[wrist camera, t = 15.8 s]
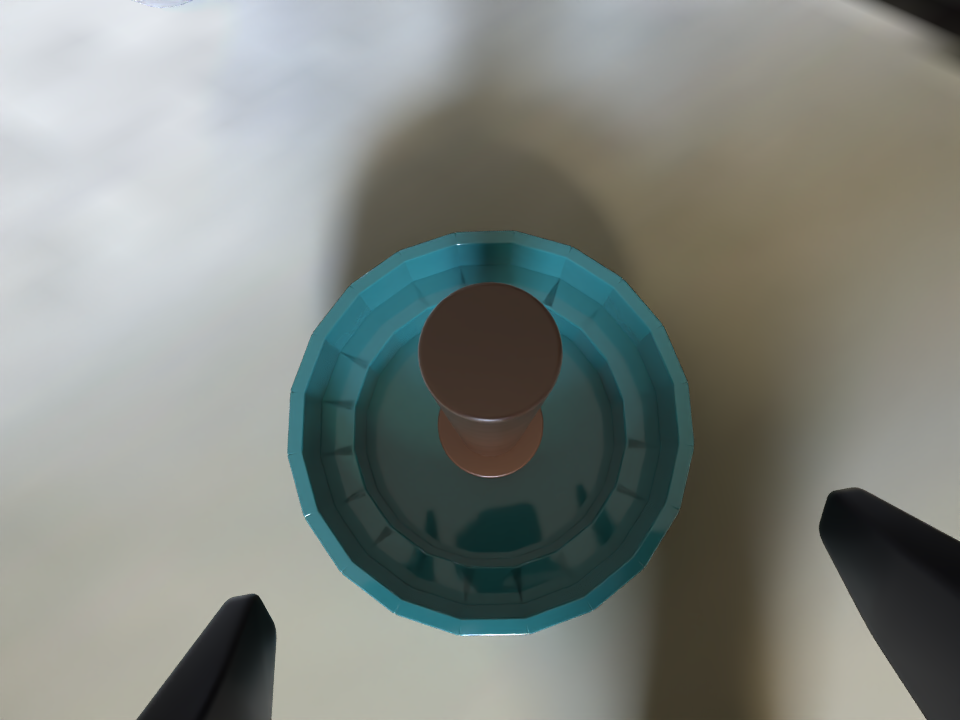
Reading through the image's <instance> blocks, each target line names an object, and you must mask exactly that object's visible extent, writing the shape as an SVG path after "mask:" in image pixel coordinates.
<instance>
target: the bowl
mask: <svg viewBox="0 0 960 720" xmlns="http://www.w3.org/2000/svg"><path fill="white" fill-rule="evenodd" d="M484 282H496V283H504V284H508V285H512V286H515V287H518V288H520V289H522V290H524V291H526V292H528V293H530V294H531V295H532V296H534V297H535V298H537V299H538V300H539V301H540V302H541V303H542V304H543V305H544V306H545V307H546V308H547V310H548V311H549V312H550V314H551V315H552V317H553V318H554V320H555V322H556V324H557V326H558V329H559V332H560V335H561V340H562V348H563V357H562V366H561V370H560V374H559V376H558V379H557V382H556V383H555V385H554V387H553V389H552V391H551V392H550V394H549V395H548V397H547V398H546V400H545V401H544V403H543V404H542V406H541V411H542V415H543V435H542V439H541V442H540V445H539V447H538V449H537V451H536V453H535V454H534V456H533V457H532V459H531V460H530V461H529V462H528V463H527V464H526V465H524V466H523V467H522V468H521V469H519V470H517V471H516V472H514V473H511V474H509V475H507V476H504V477H500V478H481V477H478V476H475V475H472V474H470V473H467V472H466V471H464V470H462V469H461V468H459V467H458V466H457V465H455V463H454V462H453V461H452V460H451V459H450V458H449V457H448V455H447V454H446V452H445V451H444V449H443V447H442V444H441V442H440V438H439V434H438V415H439V411H440V406H439V405H438V403H437V402H436V400H435V399H434V397H433V396H432V394H431V393H430V391H429V390H428V388H427V386H426V384H425V382H424V380H423V377H422V375H421V371H420V368H419V362H418V344H419V338H420V334H421V331H422V328H423V326H424V323H425V321H426V319H427V318H428V316H429V315H430V313H431V312H432V310H433V309H434V308H435V307H436V306H437V305H438V304H439V303H440V302H441V301H442V300H443V299H444V298H445V297H447V296H448V295H449V294H451V293H453V292H455V291H456V290H458V289H461V288H463V287H466V286H469V285H472V284H477V283H484ZM291 391H292V392H291V393H290V410H289V430H288V449H287V453H288V454H289V455H288V460H289V463H290V467H291V471H292V474H293V478H294V482H295V485H296V489H297V493H298V497H299V500H300V504H301V508H302V511H303V515H304V517H305V520H306V521H307V523H308V524H309V526H310V527H311V529H312V530H313V532H314V533H315V535H316V536H317V538H318V539H319V541H320V542H321V544H322V545H323V547H324V548H325V550H326V551H327V553H328V554H329V556H330V557H331V559H332V560H333V562H334V563H335V565H336V566H337V568H338V569H339V571H340V572H342V574H343V575H344V576H345V577H347V578H348V579H349V580H351V581H352V582H353V583H355V584H356V585H357V586H358V587H360V588H361V589H362V590H364V591H365V592H366V593H368V594H369V595H370V596H371V597H373V598H374V599H375V600H377V601H378V602H379V603H380V604H382V605H383V606H384V607H386V608H387V609H388V610H390V611H391V612H392V613H395V614H396V615H398V616H401V617H404V618H407V619H410V620H413V621H416V622H419V623H422V624H425V625H428V626H431V627H434V628H437V629H440V630H443V631H446V632H449V633H452V634H455V635H460V636H495V635H527V634H532V633H535V632H538V631H540V630H543V629H546V628H548V627H551V626H554V625H557V624H559V623H562V622H565V621H567V620H570V619H573V618H575V617H578V616H581V615H584V614H586V613H589V612H591V611H592V610H595V609H596V608H597V607H598V606H600V605H601V604H602V603H603V602H605V601H606V600H607V599H608V598H609V597H611V596H612V595H613V594H614V593H615V592H617V591H618V590H619V589H620V588H621V587H623V586H624V585H625V584H626V583H627V582H629V581H630V580H631V579H632V578H633V577H635V576H636V575H637V574H638V573H639V572H641V571H642V570H643V569H644V567H645V566H647V564H648V562H649V561H650V559H651V557H652V556H653V554H654V552H655V551H656V549H657V547H658V546H659V544H660V542H661V541H662V539H663V538H664V536H665V534H666V533H667V531H668V529H669V528H670V526H671V524H672V523H673V521H674V519H675V518H676V516H677V515H678V513H679V510H680V508H681V504H682V499H683V495H684V490H685V486H686V481H687V477H688V472H689V468H690V464H691V459H692V455H693V450H694V447H693V446H694V437H693V427H692V416H691V406H690V396H689V386H688V383H687V379H686V376H685V374H684V372H683V370H682V367H681V365H680V363H679V360H678V358H677V356H676V353H675V351H674V349H673V346H672V344H671V342H670V339H669V337H668V335H667V332H666V330H665V328H664V326H662V323H661V322H660V321H659V319H658V318H657V317H656V316H655V315H654V314H653V312H652V311H651V310H650V309H649V308H648V307H647V305H646V304H645V303H644V302H643V301H642V300H641V299H640V297H639V296H638V295H637V294H636V293H635V292H634V290H633V289H632V288H631V287H630V286H629V285H628V283H627V282H626V281H625V280H624V279H622V277H620V276H619V275H617V274H615V273H614V272H612V271H611V270H609V269H607V268H606V267H604V266H603V265H601V264H600V263H598V262H596V261H595V260H593V259H592V258H590V257H588V256H587V255H585V254H584V253H582V252H580V251H579V250H577V249H576V248H574V247H571V246H569V245H566V244H562V243H558V242H555V241H551V240H547V239H544V238H540V237H536V236H533V235H529V234H526V233H522V232H518V231H515V232H514V231H475V232H456V233H451V234H448V235H445V236H442V237H439V238H435V239H432V240H429V241H426V242H423V243H420V244H417V245H414V246H411V247H408V248H405V249H402V250H400V251H398V252H396V253H395V254H393V255H392V256H390V257H389V258H388V259H386V260H385V261H383V262H382V263H380V264H379V265H378V266H376V267H375V268H373V269H372V270H370V271H369V272H368V273H366V274H365V275H363V276H362V277H360V278H359V279H358V280H356V281H355V282H353V283H352V284H351V286H349V287H348V288H347V289H346V290H345V292H344V293H343V294H342V296H341V297H340V298H339V299H338V301H337V302H336V303H335V305H334V306H333V307H332V308H331V310H330V311H329V312H328V314H327V315H326V316H325V317H324V319H323V320H322V321H321V323H320V324H319V325H318V326H317V328H316V329H315V330H314V332H313V334H312V335H311V338H310V340H309V343H308V346H307V348H306V351H305V354H304V356H303V359H302V362H301V364H300V367H299V370H298V372H297V375H296V378H295V380H294V383H293V386H292V388H291Z"/></svg>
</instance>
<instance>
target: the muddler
mask: <svg viewBox="0 0 960 720" xmlns="http://www.w3.org/2000/svg"><path fill="white" fill-rule="evenodd" d="M562 357H563V348H562V340H561V335H560V332H559V329H558V326H557V324H556V322H555V320H554V318H553V317H552V315H551V314H550V312H549V311H548V310H547V308H546V307H545V306H544V305H543V304H542V303H541V302H540V301H539V300H538V299H537V298H535V297H534V296H532V295H531V294H530V293H528V292H526V291H524V290H522V289H520V288H518V287H515V286H512V285H508V284H504V283H496V282H484V283H477V284H472V285H469V286H466V287H463V288H461V289H458V290H456V291H455V292H453V293H451V294H449V295H448V296H447V297H445V298H444V299H443V300H442V301H441V302H440V303H439V304H438V305H437V306H436V307H435V308H434V309H433V310H432V312H431V313H430V315H429V316H428V318H427V319H426V321H425V323H424V326H423V328H422V331H421V334H420V338H419V344H418V362H419V368H420V371H421V375H422V377H423V380H424V382H425V384H426V386H427V388H428V390H429V391H430V393H431V394H432V396H433V397H434V399H435V400H436V402H437V403H438V405H439V406H440V411H439V415H438V434H439V438H440V442H441V444H442V447H443V449H444V451H445V452H446V454H447V455H448V457H449V458H450V459H451V460H452V461H453V462H454V463H455V465H457V466H458V467H459V468H461V469H462V470H464V471H466V472H467V473H470V474H472V475H475V476H478V477H481V478H500V477H504V476H507V475H509V474H511V473H514V472H516V471H517V470H519V469H521V468H522V467H523V466H524V465H526V464H527V463H528V462H529V461H530V460H531V459H532V457H533V456H534V454H535V453H536V451H537V449H538V447H539V445H540V442H541V439H542V435H543V415H542V411H541V406H542V404H543V403H544V401H545V400H546V398H547V397H548V395H549V394H550V392H551V391H552V389H553V387H554V385H555V383H556V382H557V379H558V376H559V374H560V370H561V366H562Z"/></svg>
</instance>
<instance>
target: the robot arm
mask: <svg viewBox="0 0 960 720" xmlns="http://www.w3.org/2000/svg"><path fill="white" fill-rule="evenodd" d="M819 532H820V536H821V539H822V542H823V544H824V546H825V548H826V549H827V551H828V553H829V555H830V557H831V559H832V561H833V563H834V565H835V567H836V569H837V571H838V572H839V574H840V576H841V578H842V580H843V582H844V584H845V586H846V588H847V590H848V592H849V594H850V595H851V597H852V599H853V601H854V603H855V605H856V607H857V609H858V611H859V613H860V615H861V617H862V618H863V620H864V622H865V624H866V626H867V627H868V629H869V631H870V633H871V634H872V636H873V638H874V639H875V641H876V642H877V644H878V646H879V647H880V649H881V650H882V652H883V653H884V655H885V657H886V658H887V660H888V661H889V663H890V664H891V666H892V667H893V669H894V670H895V672H896V673H897V675H898V676H899V678H900V680H901V681H902V683H903V684H904V686H905V687H906V689H907V690H908V692H909V693H910V695H911V696H912V698H913V699H914V701H915V703H916V704H917V706H918V707H919V709H920V710H921V712H922V713H923V715H924V716H925V718H926V719H927V720H960V541H958V540H956V539H954V538H952V537H951V536H949V535H947V534H945V533H943V532H941V531H939V530H938V529H936V528H934V527H932V526H930V525H928V524H926V523H925V522H923V521H921V520H919V519H917V518H915V517H914V516H912V515H910V514H908V513H906V512H904V511H902V510H901V509H899V508H897V507H895V506H893V505H891V504H889V503H888V502H886V501H884V500H882V499H880V498H878V497H876V496H875V495H873V494H871V493H869V492H867V491H865V490H863V489H860V488H856V487H855V488H846V489H841V490H835V491H832V492H831V493H830V494H829V495H828V497H827V500H826V503H825V507H824V510H823V513H822V517H821V520H820V524H819ZM275 653H276V628H275V625H274V622H273V620H272V618H271V617H270V615H269V613H268V611H267V609H266V608H265V606H264V604H263V602H262V600H261V599H260V597H259V596H258V595H256V594H247V595H242V596H236V597H232V598H230V599H228V600H227V601H226V602H225V603H224V604H223V606H222V607H221V608H220V610H219V611H218V612H217V614H216V615H215V616H214V618H213V619H212V620H211V622H210V623H209V624H208V626H207V627H206V628H205V629H204V631H203V632H202V633H201V635H200V636H199V637H198V639H197V640H196V641H195V643H194V644H193V645H192V647H191V648H190V649H189V651H188V652H187V653H186V655H185V656H184V657H183V659H182V660H181V661H180V663H179V664H178V665H177V667H176V668H175V669H174V671H173V672H172V673H171V675H170V676H169V677H168V679H167V680H166V681H165V683H164V684H163V685H162V687H161V688H160V689H159V691H158V692H157V693H156V695H155V696H154V697H153V698H152V700H151V701H150V702H149V704H148V705H147V706H146V708H145V709H144V710H143V712H142V713H141V714H140V716H139V717H138V718H137V720H271V716H272V700H273V684H274V668H275Z"/></svg>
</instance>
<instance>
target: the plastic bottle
mask: <svg viewBox="0 0 960 720" xmlns="http://www.w3.org/2000/svg"><path fill="white" fill-rule="evenodd" d="M132 1H135V2H138V3H141V4H144V5H147V6H151V7H160V8H163V7H174V6H178V5H182V4H185V3H187V2H189V1H192V0H132Z"/></svg>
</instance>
